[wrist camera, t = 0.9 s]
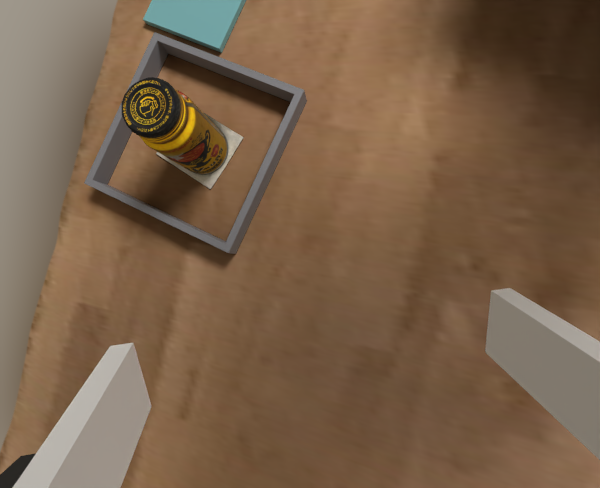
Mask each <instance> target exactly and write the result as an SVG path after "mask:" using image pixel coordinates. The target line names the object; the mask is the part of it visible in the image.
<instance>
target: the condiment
mask: <svg viewBox="0 0 600 488" xmlns="http://www.w3.org/2000/svg"><path fill="white" fill-rule="evenodd" d="M122 117H123V119H124V121H125V123H126V125H127V126H128V128H130V130H131V131H132V132H134V133H136V134H137V135H139V136H140V137H141V139H142V140H143V141H144V143H145V144H146V145H147V146H148V147H150V148H152V149H154V150H156V151H157V153H156V154H157V155H159V156H160V157H162V158H163V159H165V160H166V161H168V162H169V163H171V164H172V165H174V166H175V167H177V168H179V169H180V170H182V171H183V172H185V173H186V174H188V175H189V176H191V177H192V178H194V179H195V180H197V181H198V182H200V183H201V184H203V185H205V186H206V187H208V188H209V189H211V188H212V186H213V185H214V183H215V182H216V180H217V179H218V177H219V176H220V174H221V173H222V171H223V170H224V168H225V167H226V165H227V163H228V162H229V160H230V158H231V157H232V155H233V154H234V152H235V150H236V148H237V147H238V145H239V144H240V142H241V141H242V139H243V138H244V137H242V136H240V135H239V134H237V133H235V132H234V131H232V130H230V129H229V128H227V127H226V126H224V125H222V124H221V123H219V122H218V121H216V120H214V119H213V118H211V117H210V116H208V115H206V114H205V113H203V112H202V111H201V110H200V109H199V108H198V107H197V106H196V105H195V104H194V103H193V102H192V101H191V100H190V98H189V97H187V96H186V95H185V94H183V93H182V92H179V91H177V90H175V89H174V88H173V87H172V86H171V85H170V84H169V83H168V82H166V81H164V80H161V79H159V78H154V77H148V78H145V79H142V80H140V81H138V82H136V83H134V84H133V85H132V86H131V87H130V88H129V89H128V91H127V92H126V94H125V95H124V98H123V101H122Z"/></svg>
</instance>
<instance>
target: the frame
mask: <svg viewBox="0 0 600 488" xmlns="http://www.w3.org/2000/svg"><path fill="white" fill-rule="evenodd" d="M168 54H170V55H173V56H175V57H178V58H180V59H183V60H185V61H188V62H191V63H193V64H196V65H198V66H201V67H203V68H206V69H208V70H211V71H213V72H216V73H218V74H221V75H223V76H226V77H228V78H231V79H233V80H236V81H239V82H241V83H244V84H246V85H249V86H251V87H254V88H256V89H259V90H261V91H264V92H266V93H269V94H271V95H274V96H276V97H279V98H281V99H284V100H287V101H289V102H291V103H290V105H289V107H288V109H287V111H286V114H285V116H284V118H283V120H282V122H281V124H280V127H279V129H278V131H277V133H276V135H275V137H274V139H273V142H272V144H271V146H270V148H269V150H268V152H267V155H266V157H265V159H264V161H263V163H262V165H261V167H260V170H259V172H258V174H257V176H256V178H255V180H254V183H253V185H252V187H251V189H250V191H249V193H248V195H247V198H246V200H245V202H244V204H243V206H242V208H241V211H240V213H239V215H238V217H237V219H236V221H235V223H234V226H233V228H232V230H231V232H230V234H229V236H228V239H227V241H224V240H222V239H220V238H217V237H215V236H213V235H211V234H209V233H207V232H205V231H203V230H201V229H199V228H197V227H194V226H192V225H190V224H188V223H186V222H184V221H182V220H180V219H178V218H176V217H174V216H172V215H169V214H167V213H165V212H163V211H161V210H159V209H157V208H155V207H153V206H151V205H149V204H147V203H144V202H142V201H140V200H138V199H136V198H134V197H132V196H130V195H128V194H126V193H124V192H122V191H119V190H117V189H115V188H113V187H111V186H109V185H107V184H108V182H109V180H110V178H111V176H112V174H113V172H114V169H115V167H116V165H117V163H118V161H119V159H120V156H121V154H122V152H123V150H124V148H125V146H126V144H127V141H128V139H129V137H130V135H131V133H132V131H131V130H130V128H128V126H127V125H126V123H125V121H124V119H123V117H122V103H121V105H120V107H119V109H118V112H117V114H116V116H115V118H114V120H113V122H112V124H111V127H110V129H109V131H108V133H107V135H106V137H105V139H104V142H103V144H102V146H101V148H100V150H99V152H98V155H97V157H96V159H95V161H94V163H93V165H92V167H91V170H90V172H89V174H88V176H87V178H86V180H85V182H84V183H85V184H87V185H89V186H91V187H93V188H95V189H97V190H99V191H101V192H103V193H105V194H108V195H110V196H112V197H114V198H116V199H118V200H120V201H122V202H124V203H126V204H128V205H130V206H132V207H134V208H136V209H138V210H141V211H143V212H145V213H147V214H149V215H151V216H153V217H155V218H157V219H159V220H161V221H163V222H165V223H167V224H169V225H171V226H173V227H176V228H178V229H180V230H182V231H184V232H186V233H188V234H190V235H192V236H194V237H196V238H198V239H200V240H202V241H204V242H206V243H209V244H211V245H213V246H215V247H217V248H219V249H221V250H223V251H225V252H227V253H232V254H236V253H237V250H238V248H239V246H240V244H241V242H242V240H243V237H244V235H245V233H246V231H247V229H248V227H249V225H250V222H251V220H252V218H253V216H254V214H255V212H256V209H257V207H258V205H259V203H260V201H261V199H262V197H263V194H264V192H265V190H266V188H267V186H268V184H269V181H270V179H271V177H272V175H273V173H274V171H275V169H276V166H277V164H278V162H279V160H280V158H281V156H282V153H283V151H284V149H285V147H286V145H287V143H288V141H289V138H290V136H291V134H292V132H293V130H294V128H295V125H296V123H297V121H298V119H299V117H300V115H301V113H302V110H303V108H304V106H305V104H306V102H307V100H306V96H305V92H304V90H303V89H300V88H297V87H295V86H292V85H290V84H287V83H284V82H282V81H279V80H277V79H274V78H272V77H269V76H266V75H264V74H261V73H259V72H256V71H253V70H251V69H248V68H246V67H243V66H241V65H238V64H235V63H233V62H230V61H228V60H225V59H223V58H220V57H217V56H215V55H212V54H210V53H207V52H204V51H202V50H199V49H197V48H194V47H192V46H189V45H186V44H184V43H181V42H179V41H176V40H173V39H171V38H168V37H166V36H163V35H161V34H158V33H155V32H154V34H153V36H152V38H151V41H150V43H149V45H148V47H147V49H146V51H145V53H144V56H143V58H142V60H141V62H140V64H139V66H138V69H137V71H136V73H135V75H134V77H133V79H132V81H131V84H130V86H129V88H130V87H131V86H132V85H133V84H134V83H136V82H138V81H140V80H142V79H145V78H148V77H154V78H157V77H158V75H159V73H160V70H161V68H162V66H163V64H164V62H165V60H166V58H167V55H168ZM129 88H128V89H129ZM127 91H128V90H127Z"/></svg>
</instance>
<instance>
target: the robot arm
mask: <svg viewBox="0 0 600 488" xmlns="http://www.w3.org/2000/svg"><path fill="white" fill-rule="evenodd" d="M485 352H486V353H487V354H488V355H489V356H490V357H491V358H492V359H493V360H494V361H495V362H496V363H497V364H498V365H499V366H500V367H501V368H503V369H504V370H505V371H506V372H507V373H508V374H509V375H510V376H511V377H512V378H513V379H514V380H515V381H516V382H517V383H518V384H520V385H521V386H522V387H523V388H524V389H525V390H526V391H527V392H528V393H529V394H530V395H531V396H532V397H533V398H534V399H535V400H537V401H538V402H539V403H540V404H541V405H542V406H543V407H544V408H545V409H546V410H547V411H548V412H549V413H550V414H551V415H552V416H554V417H555V418H556V419H557V420H558V421H559V422H560V423H561V424H562V425H563V426H564V427H565V428H566V429H567V430H568V431H569V432H570V433H572V434H573V435H574V436H575V437H576V438H577V439H578V440H579V441H580V442H581V443H582V444H583V445H584V446H585V447H586V448H587V449H589V450H590V451H591V452H592V453H593V454H594V455H595V456H596V457H597V458H598V459H599V460H600V341H598V340H596V339H595V338H593V337H591V336H590V335H588V334H586V333H585V332H583V331H581V330H580V329H578V328H576V327H575V326H573V325H571V324H569V323H568V322H566V321H564V320H563V319H561V318H559V317H558V316H556V315H554V314H553V313H551V312H549V311H548V310H546V309H544V308H543V307H541V306H539V305H538V304H536V303H534V302H533V301H531V300H529V299H528V298H526V297H524V296H523V295H521V294H519V293H518V292H516V291H514V290H513V289H511V288H506V289H499V290H492V291H491V297H490V308H489V318H488V328H487V339H486V349H485ZM151 407H152V406H151V403H150V399H149V396H148V392H147V389H146V385H145V381H144V378H143V374H142V371H141V367H140V364H139V360H138V357H137V353H136V350H135V346H134V343H127V344H121V345H114V346H110V347H109V349H108V350H107V351H106V353H105V354H104V356H103V357H102V359H101V360H100V362H99V363H98V365H97V366H96V367H95V369H94V370H93V372H92V373H91V375H90V376H89V378H88V379H87V380H86V382H85V383H84V385H83V386H82V388H81V389H80V391H79V392H78V394H77V395H76V396H75V398H74V399H73V401H72V402H71V404H70V405H69V407H68V408H67V409H66V411H65V412H64V414H63V415H62V417H61V418H60V420H59V421H58V423H57V424H56V425H55V427H54V428H53V430H52V431H51V433H50V434H49V436H48V437H47V439H46V440H45V441H44V443H43V444H42V446H41V447H40V449H39V450H38V452H37V453H36V454H31V455H25V456H21V457H20V458H18V459H17V460H16V461H15V462H14V463H13V464H12V465H11V466H10V467H8V468H7V469H6V470H5V471H4V472H3V473H2V474H1V475H0V488H121V485H122V482H123V480H124V477H125V475H126V472H127V469H128V467H129V464H130V461H131V459H132V456H133V454H134V451H135V448H136V446H137V443H138V441H139V438H140V435H141V433H142V430H143V428H144V425H145V422H146V420H147V417H148V414H149V412H150V409H151Z"/></svg>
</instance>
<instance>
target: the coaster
mask: <svg viewBox="0 0 600 488" xmlns="http://www.w3.org/2000/svg"><path fill="white" fill-rule="evenodd" d="M245 2H246V0H152V1H151V3H150V6H149V8H148V10H147V12H146V14H145V16H144V18H143V20H144V21H145V22H146V24H148V25H151V26H153V27H156V28H159V29H161V30H164V31H166V32H169V33H172V34H174V35H177V36H179V37H182V38H185V39H187V40H190V41H192V42H195V43H198V44H200V45H203V46H205V47H208V48H211V49H213V50H216V51H218V52H221V53H222V51H223V49H224V47H225V45H226V43H227V40H228V38H229V36H230V34H231V32H232V30H233V28H234V25H235V23H236V21H237V19H238V17H239V15H240V12H241V10H242V8H243V6H244V4H245Z"/></svg>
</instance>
